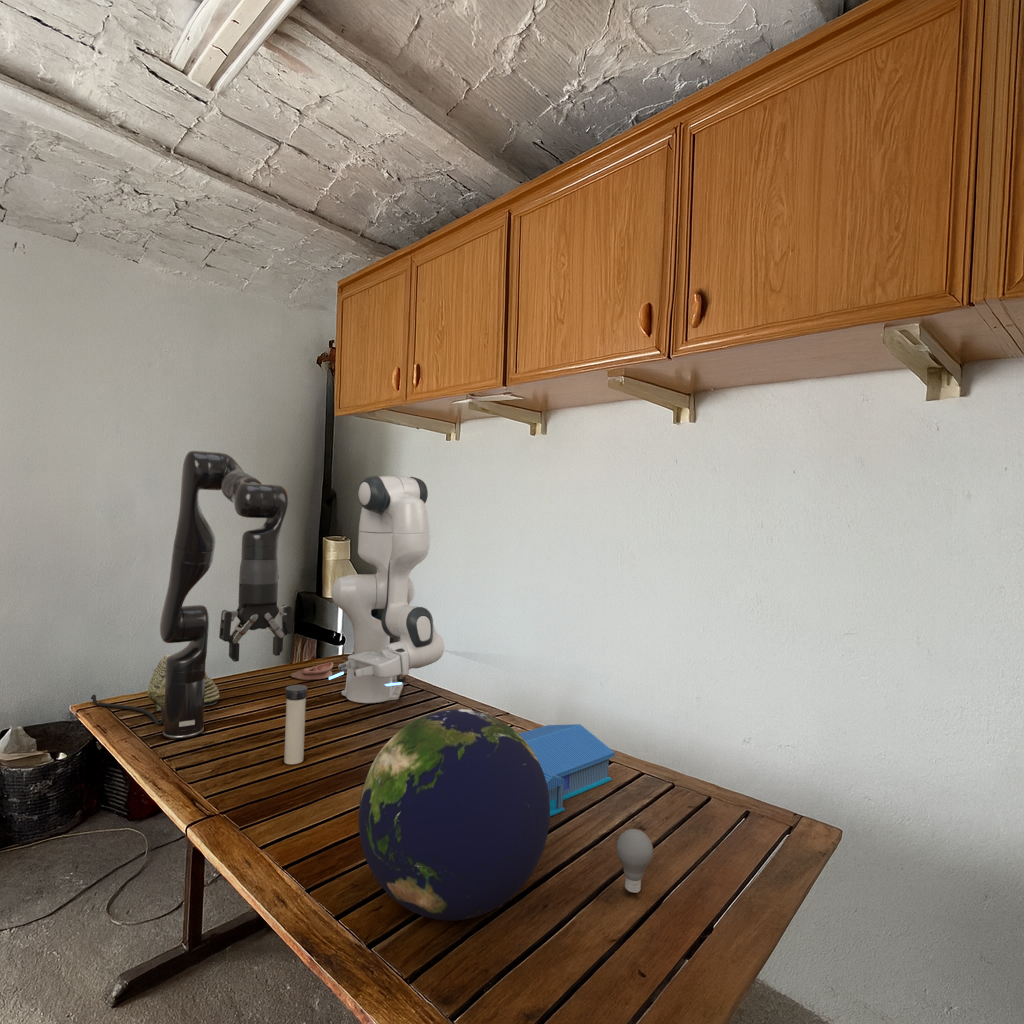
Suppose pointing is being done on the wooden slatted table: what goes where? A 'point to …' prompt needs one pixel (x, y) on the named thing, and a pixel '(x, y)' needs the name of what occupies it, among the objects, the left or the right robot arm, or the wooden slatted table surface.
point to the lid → (296, 692)
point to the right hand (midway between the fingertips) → (347, 670)
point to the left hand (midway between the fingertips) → (256, 657)
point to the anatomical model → (314, 672)
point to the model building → (569, 760)
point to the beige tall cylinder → (294, 731)
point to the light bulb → (634, 857)
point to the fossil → (158, 687)
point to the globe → (454, 815)
